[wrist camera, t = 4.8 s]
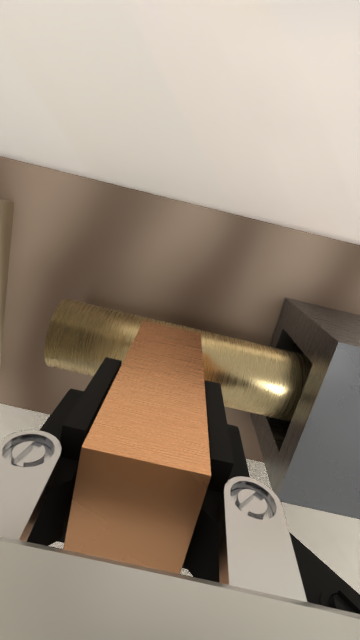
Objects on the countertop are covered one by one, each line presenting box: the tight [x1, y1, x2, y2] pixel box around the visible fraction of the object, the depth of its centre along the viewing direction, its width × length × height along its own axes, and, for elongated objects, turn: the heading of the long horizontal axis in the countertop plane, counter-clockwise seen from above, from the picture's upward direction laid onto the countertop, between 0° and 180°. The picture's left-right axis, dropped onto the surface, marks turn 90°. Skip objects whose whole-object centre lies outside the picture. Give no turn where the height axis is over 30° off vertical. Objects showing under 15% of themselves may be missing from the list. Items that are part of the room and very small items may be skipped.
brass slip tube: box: [44, 299, 313, 574], centre depth 12 cm, size 22×4×11 cm, turn 77°
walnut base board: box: [0, 157, 360, 462], centre depth 20 cm, size 38×14×2 cm, turn 77°
